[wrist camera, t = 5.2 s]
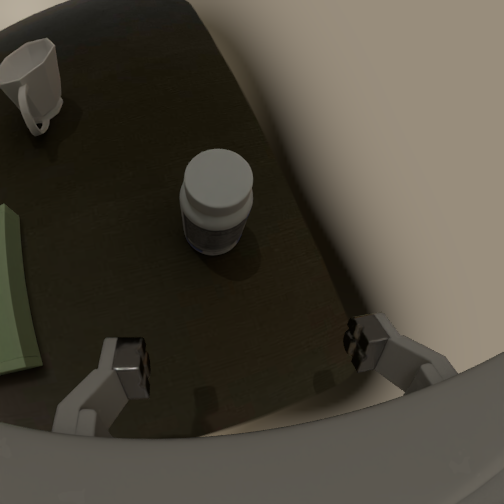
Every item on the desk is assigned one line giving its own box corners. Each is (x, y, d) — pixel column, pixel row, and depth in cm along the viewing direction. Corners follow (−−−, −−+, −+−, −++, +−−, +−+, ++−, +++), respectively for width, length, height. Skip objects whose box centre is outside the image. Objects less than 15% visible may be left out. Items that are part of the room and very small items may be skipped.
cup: (72, 79, 28) (56, 29, 20) (77, 138, 26) (52, 83, 18) (22, 102, 26) (-2, 56, 18) (19, 164, 24) (-17, 118, 16)
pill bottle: (251, 243, 25) (274, 197, 17) (196, 265, 24) (195, 227, 16) (227, 194, 26) (239, 134, 18) (175, 213, 25) (166, 157, 17)
